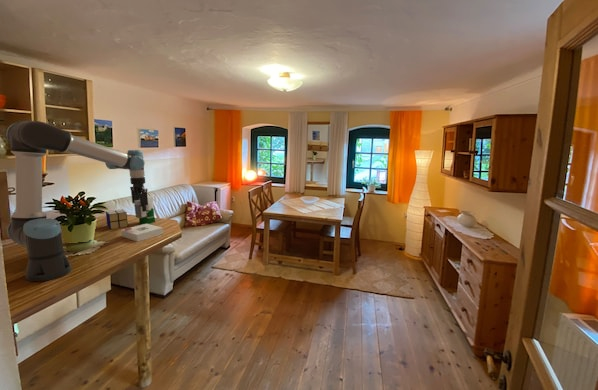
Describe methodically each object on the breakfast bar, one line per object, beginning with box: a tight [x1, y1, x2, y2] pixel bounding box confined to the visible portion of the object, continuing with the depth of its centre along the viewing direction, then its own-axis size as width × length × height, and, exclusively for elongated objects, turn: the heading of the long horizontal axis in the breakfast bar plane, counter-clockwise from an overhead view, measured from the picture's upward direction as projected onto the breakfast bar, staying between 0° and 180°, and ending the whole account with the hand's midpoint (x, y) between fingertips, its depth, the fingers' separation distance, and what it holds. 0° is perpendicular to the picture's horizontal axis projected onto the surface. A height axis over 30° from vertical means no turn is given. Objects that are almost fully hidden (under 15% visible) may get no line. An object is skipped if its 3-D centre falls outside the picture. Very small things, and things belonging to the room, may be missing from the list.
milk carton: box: [138, 195, 156, 225], centre depth 205 cm, size 9×9×20 cm
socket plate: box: [120, 223, 164, 243], centre depth 180 cm, size 16×16×5 cm
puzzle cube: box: [105, 208, 129, 230], centre depth 196 cm, size 10×10×10 cm
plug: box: [133, 200, 147, 219], centre depth 178 cm, size 4×4×10 cm
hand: (141, 215), depth 179 cm, fingers closed on plug, 4 cm apart
